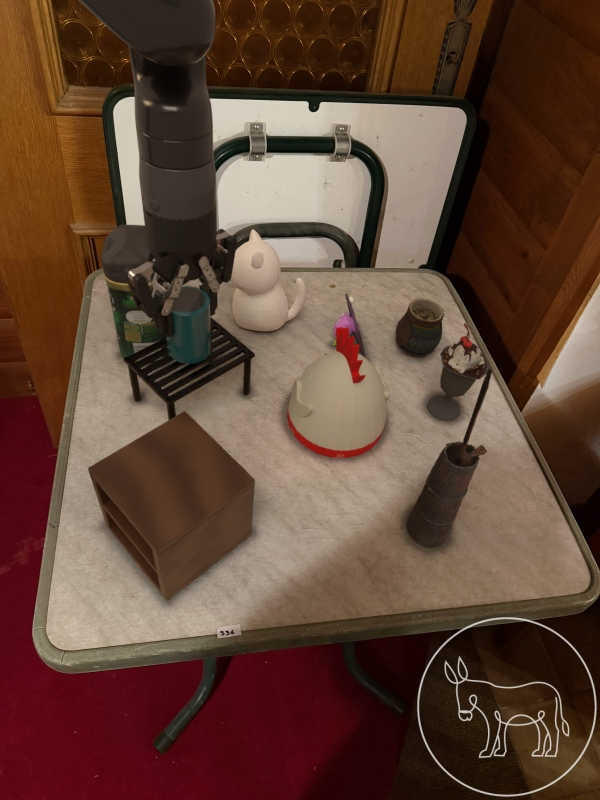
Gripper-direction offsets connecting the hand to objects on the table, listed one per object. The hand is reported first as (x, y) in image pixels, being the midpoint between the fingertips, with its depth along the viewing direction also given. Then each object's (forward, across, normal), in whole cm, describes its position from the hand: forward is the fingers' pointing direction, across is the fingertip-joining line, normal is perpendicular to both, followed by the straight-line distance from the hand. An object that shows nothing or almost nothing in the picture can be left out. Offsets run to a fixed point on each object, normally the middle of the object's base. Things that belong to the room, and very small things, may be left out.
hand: (187, 322), depth 70 cm
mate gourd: (+14, -34, +14) cm, 39 cm away
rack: (+14, 0, 0) cm, 14 cm away
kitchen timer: (+14, -13, +16) cm, 25 cm away
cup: (+5, 0, 0) cm, 5 cm away
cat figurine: (+14, -19, -6) cm, 24 cm away
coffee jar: (+14, -1, -13) cm, 19 cm away
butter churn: (+14, -10, +36) cm, 40 cm away
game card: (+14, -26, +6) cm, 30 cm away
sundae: (+14, -27, +25) cm, 40 cm away
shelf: (+14, +14, +16) cm, 25 cm away
